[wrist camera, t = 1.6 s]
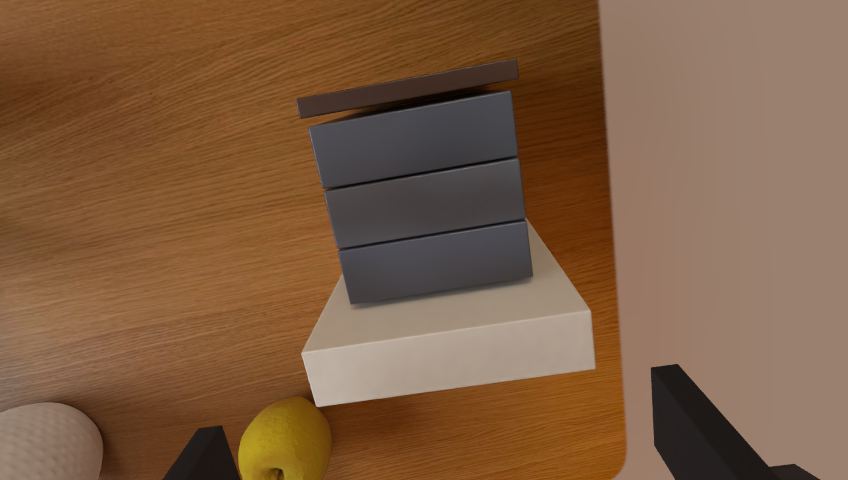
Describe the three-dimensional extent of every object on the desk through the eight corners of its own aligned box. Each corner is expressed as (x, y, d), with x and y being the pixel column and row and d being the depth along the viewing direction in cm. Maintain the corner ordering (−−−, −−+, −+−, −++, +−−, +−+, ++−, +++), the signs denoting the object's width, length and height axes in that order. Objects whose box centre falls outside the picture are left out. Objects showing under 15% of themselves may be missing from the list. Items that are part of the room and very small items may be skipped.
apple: (292, 458, 40) (257, 546, 32) (245, 399, 38) (197, 476, 31) (358, 426, 39) (339, 509, 31) (313, 363, 37) (281, 435, 29)
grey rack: (346, 95, 31) (287, 99, 19) (487, 69, 31) (521, 55, 18) (386, 280, 35) (358, 385, 23) (512, 260, 34) (554, 358, 22)
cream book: (361, 234, 34) (300, 352, 19) (520, 208, 33) (591, 310, 18) (369, 267, 35) (316, 408, 19) (524, 243, 34) (596, 369, 19)
